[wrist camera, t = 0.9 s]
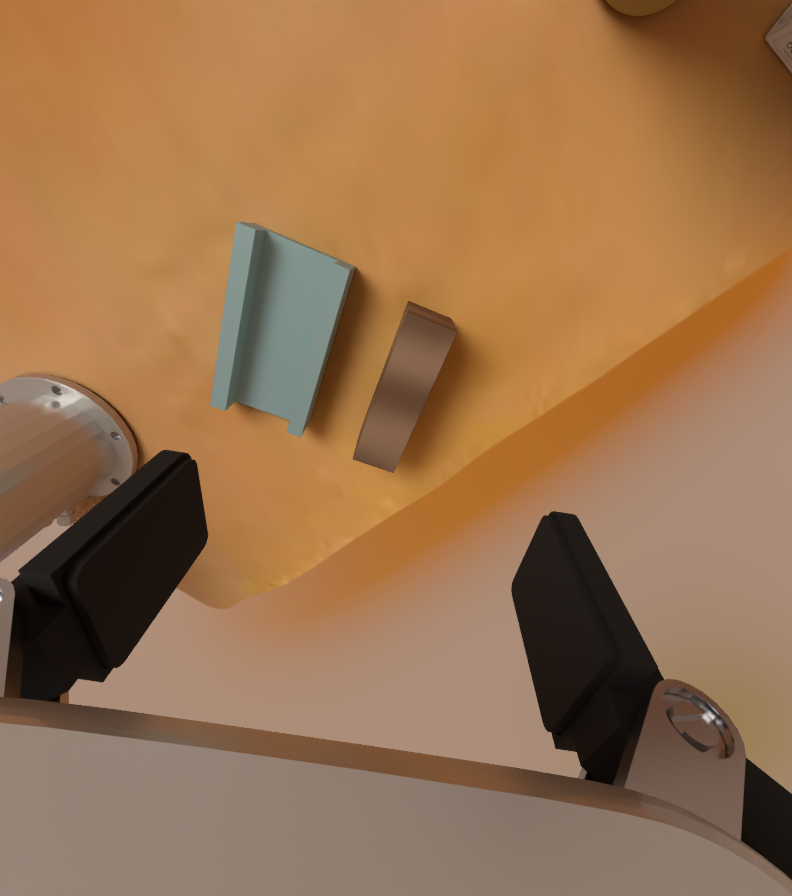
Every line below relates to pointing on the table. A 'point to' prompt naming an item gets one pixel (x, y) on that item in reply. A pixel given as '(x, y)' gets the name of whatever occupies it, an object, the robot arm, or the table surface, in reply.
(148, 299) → the table surface
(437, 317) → the walnut strip
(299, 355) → the grey-blue channel block
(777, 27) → the light bulb box
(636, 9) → the paper tube
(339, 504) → the table surface
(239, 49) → the table surface
